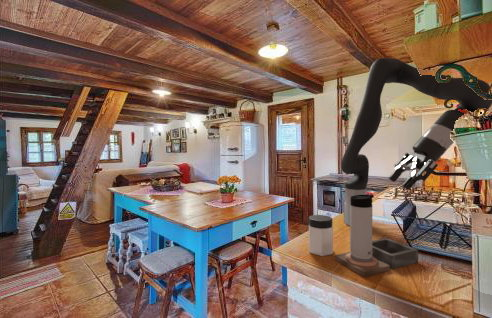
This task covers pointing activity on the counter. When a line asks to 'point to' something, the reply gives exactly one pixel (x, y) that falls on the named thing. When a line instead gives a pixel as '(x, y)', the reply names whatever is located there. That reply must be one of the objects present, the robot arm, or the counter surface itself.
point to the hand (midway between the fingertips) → (397, 183)
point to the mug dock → (381, 258)
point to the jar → (320, 235)
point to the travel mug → (361, 228)
